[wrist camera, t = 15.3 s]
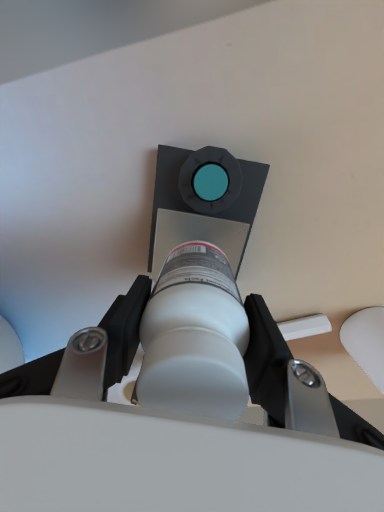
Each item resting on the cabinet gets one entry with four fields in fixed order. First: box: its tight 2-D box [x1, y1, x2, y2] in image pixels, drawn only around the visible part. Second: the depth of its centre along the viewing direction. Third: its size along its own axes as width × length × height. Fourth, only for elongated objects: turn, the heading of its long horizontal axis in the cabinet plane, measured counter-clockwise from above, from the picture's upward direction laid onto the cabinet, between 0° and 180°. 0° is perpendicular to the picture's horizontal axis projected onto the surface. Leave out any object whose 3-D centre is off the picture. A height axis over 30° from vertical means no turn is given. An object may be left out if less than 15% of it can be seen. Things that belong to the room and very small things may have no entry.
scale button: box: [194, 164, 228, 200], centre depth 18 cm, size 3×3×2 cm
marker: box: [277, 314, 332, 341], centre depth 28 cm, size 3×2×16 cm
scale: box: [148, 144, 270, 281], centre depth 21 cm, size 14×11×3 cm
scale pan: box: [151, 207, 250, 281], centre depth 20 cm, size 8×9×1 cm
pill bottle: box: [136, 240, 250, 421], centre depth 11 cm, size 5×5×10 cm
